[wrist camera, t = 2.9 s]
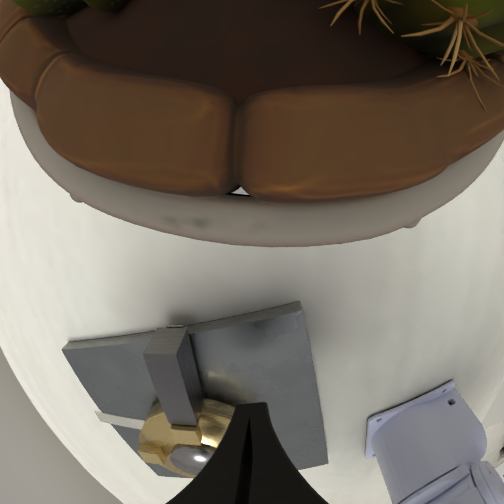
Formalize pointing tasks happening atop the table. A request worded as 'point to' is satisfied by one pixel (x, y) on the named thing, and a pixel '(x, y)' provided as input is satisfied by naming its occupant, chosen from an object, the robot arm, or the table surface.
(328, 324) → the table surface
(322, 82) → the flowerpot
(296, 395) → the dark grey square plate
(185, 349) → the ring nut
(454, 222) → the table surface
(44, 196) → the table surface
